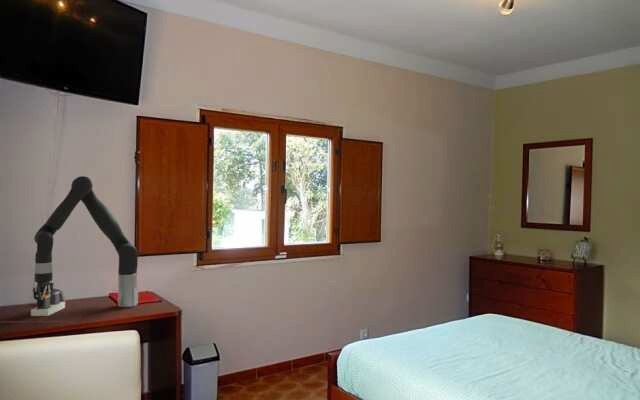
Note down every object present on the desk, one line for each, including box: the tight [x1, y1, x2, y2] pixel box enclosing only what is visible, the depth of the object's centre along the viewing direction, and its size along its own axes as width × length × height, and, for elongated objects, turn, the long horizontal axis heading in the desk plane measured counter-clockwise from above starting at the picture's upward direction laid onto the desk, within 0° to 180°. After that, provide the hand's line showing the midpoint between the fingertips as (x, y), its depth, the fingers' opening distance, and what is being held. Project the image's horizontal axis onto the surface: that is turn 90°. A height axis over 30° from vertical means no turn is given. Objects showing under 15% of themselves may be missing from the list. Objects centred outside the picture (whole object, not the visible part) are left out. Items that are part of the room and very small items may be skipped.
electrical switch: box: [50, 287, 67, 305], centre depth 243 cm, size 9×5×9 cm, turn 57°
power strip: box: [30, 302, 66, 317], centre depth 225 cm, size 8×16×4 cm, turn 3°
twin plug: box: [50, 291, 60, 305], centre depth 230 cm, size 4×4×9 cm
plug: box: [36, 295, 50, 309], centre depth 221 cm, size 4×4×9 cm
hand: (43, 305), depth 221 cm, fingers open, 5 cm apart
